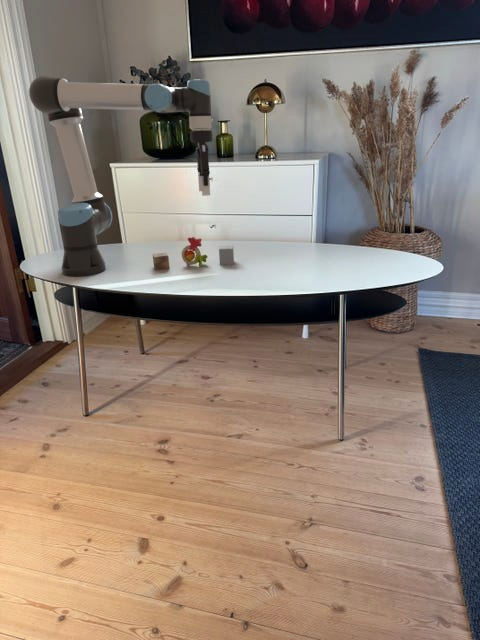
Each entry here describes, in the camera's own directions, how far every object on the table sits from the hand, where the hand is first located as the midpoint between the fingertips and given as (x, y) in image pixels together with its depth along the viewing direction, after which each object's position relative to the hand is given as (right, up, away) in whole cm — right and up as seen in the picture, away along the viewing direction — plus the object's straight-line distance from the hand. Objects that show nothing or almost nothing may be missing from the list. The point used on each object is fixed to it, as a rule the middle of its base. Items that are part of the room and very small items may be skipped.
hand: (204, 193), depth 173 cm
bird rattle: (-4, -26, +3) cm, 26 cm away
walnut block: (-16, -27, +2) cm, 31 cm away
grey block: (+8, -25, +5) cm, 26 cm away
